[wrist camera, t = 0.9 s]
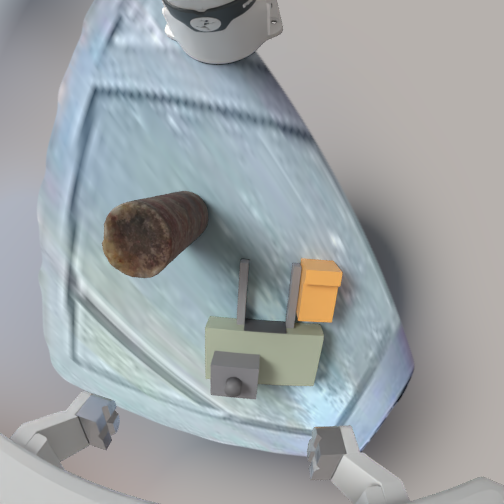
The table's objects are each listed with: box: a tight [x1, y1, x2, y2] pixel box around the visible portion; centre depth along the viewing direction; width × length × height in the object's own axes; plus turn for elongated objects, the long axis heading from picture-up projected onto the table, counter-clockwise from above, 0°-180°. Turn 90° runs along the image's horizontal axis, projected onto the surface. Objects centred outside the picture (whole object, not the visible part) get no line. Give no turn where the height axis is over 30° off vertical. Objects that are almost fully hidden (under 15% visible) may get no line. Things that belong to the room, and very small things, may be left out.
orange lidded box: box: [296, 258, 343, 322], centre depth 42 cm, size 8×5×6 cm, turn 176°
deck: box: [205, 259, 324, 399], centre depth 42 cm, size 20×18×10 cm
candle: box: [102, 191, 208, 278], centre depth 34 cm, size 8×7×20 cm
